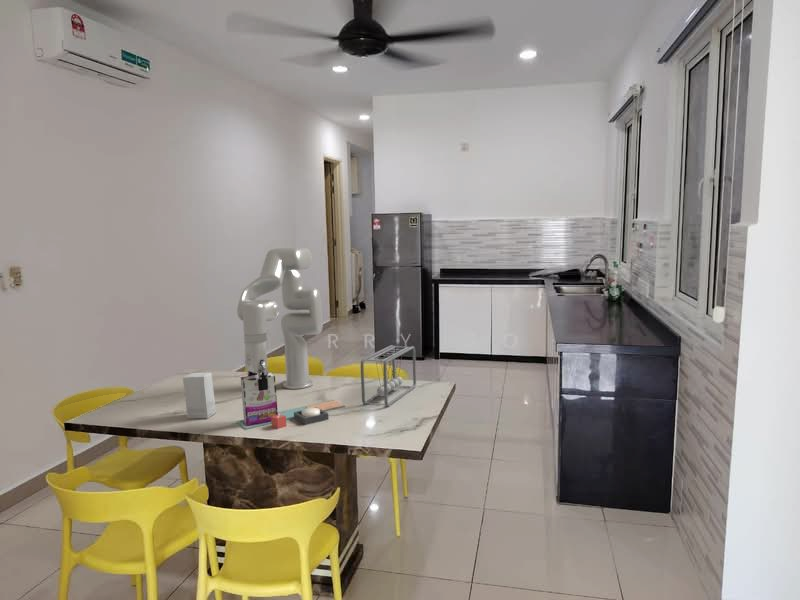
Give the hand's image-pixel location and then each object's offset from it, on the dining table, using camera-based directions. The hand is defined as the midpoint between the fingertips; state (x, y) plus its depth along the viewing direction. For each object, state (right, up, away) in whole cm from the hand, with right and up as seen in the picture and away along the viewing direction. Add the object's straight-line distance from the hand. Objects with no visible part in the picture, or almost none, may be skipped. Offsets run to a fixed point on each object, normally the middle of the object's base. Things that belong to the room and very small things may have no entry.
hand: (258, 387), depth 195 cm
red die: (+8, -13, -4) cm, 15 cm away
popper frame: (+18, -12, +3) cm, 21 cm away
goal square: (+21, -10, +16) cm, 28 cm away
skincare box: (-23, -12, +10) cm, 28 cm away
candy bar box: (0, -12, +2) cm, 13 cm away
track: (+11, -11, +9) cm, 18 cm away
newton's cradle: (+45, -8, +28) cm, 54 cm away
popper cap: (+18, -11, +3) cm, 21 cm away
